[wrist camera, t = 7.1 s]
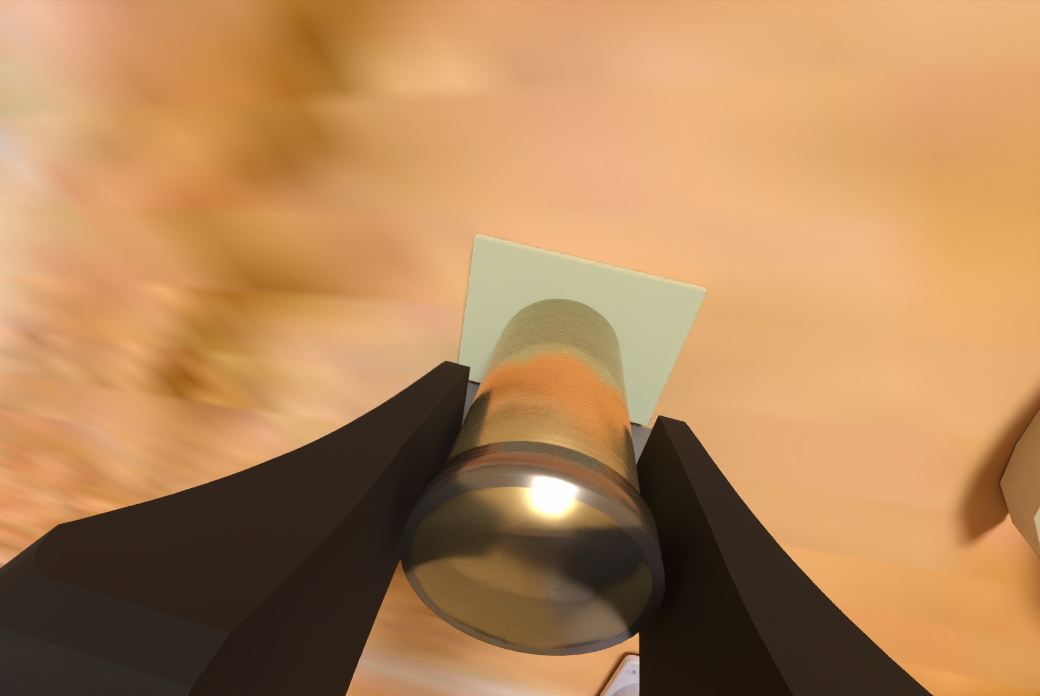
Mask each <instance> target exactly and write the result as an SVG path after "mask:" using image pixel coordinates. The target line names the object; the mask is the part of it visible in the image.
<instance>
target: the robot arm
mask: <svg viewBox="0 0 1040 696" xmlns="http://www.w3.org/2000/svg"><path fill="white" fill-rule="evenodd" d="M469 374H470V367H468V366H465V365H461V364H457V363H453V362H449V361H445V362H443V363H441V364H440V365H438V366H437V367H436V368H434V369H433V370H431V371H430V372H429V373H427V374H426V375H424V376H423V377H422V378H420V379H419V380H417V381H416V382H414V383H413V384H412V385H410V386H409V387H407V388H406V389H404V390H403V391H401V392H400V393H398V394H397V395H395V396H394V397H392V398H390V399H389V400H387V401H386V402H384V403H383V404H381V405H380V406H378V407H376V408H375V409H373V410H371V411H369V412H368V413H366V414H364V415H363V416H361V417H359V418H357V419H356V420H354V421H352V422H350V423H349V424H347V425H345V426H343V427H341V428H339V429H338V430H336V431H334V432H332V433H330V434H328V435H326V436H324V437H322V438H320V439H318V440H316V441H313V442H311V443H309V444H307V445H305V446H303V447H301V448H298V449H296V450H294V451H291V452H289V453H286V454H284V455H281V456H279V457H276V458H274V459H271V460H269V461H266V462H264V463H261V464H259V465H256V466H254V467H251V468H249V469H246V470H244V471H241V472H238V473H235V474H232V475H230V476H227V477H224V478H221V479H218V480H215V481H212V482H209V483H206V484H203V485H200V486H197V487H194V488H190V489H187V490H184V491H181V492H178V493H175V494H171V495H168V496H165V497H161V498H158V499H154V500H151V501H147V502H143V503H140V504H136V505H132V506H128V507H125V508H121V509H117V510H113V511H110V512H106V513H102V514H98V515H95V516H91V517H87V518H83V519H80V520H75V521H71V522H67V523H63V524H59V525H57V526H56V527H54V528H53V529H52V530H50V531H49V532H48V533H46V534H45V535H43V536H42V537H41V538H40V539H38V540H37V541H36V542H34V543H33V544H32V545H30V546H29V547H28V548H26V549H25V550H24V551H23V552H21V553H20V554H19V555H17V556H16V557H15V558H13V559H12V560H11V561H9V562H8V563H7V564H5V565H4V566H3V567H2V568H0V696H345V695H346V693H347V690H348V688H349V685H350V682H351V680H352V677H353V674H354V672H355V669H356V667H357V664H358V661H359V659H360V656H361V654H362V651H363V649H364V646H365V644H366V641H367V639H368V636H369V634H370V631H371V629H372V626H373V624H374V621H375V619H376V616H377V614H378V611H379V609H380V606H381V604H382V601H383V599H384V596H385V594H386V592H387V589H388V587H389V584H390V582H391V579H392V577H393V574H394V572H395V570H396V567H397V565H398V563H399V561H400V559H401V557H400V542H401V537H402V533H403V530H404V527H405V525H406V523H407V520H408V518H409V516H410V514H411V512H412V510H413V508H414V506H415V503H416V501H417V499H418V497H419V495H420V493H421V491H422V489H423V487H424V485H425V483H426V482H427V480H428V479H429V477H430V476H431V475H432V474H433V473H434V472H435V471H436V469H437V468H438V467H440V466H441V465H442V464H444V463H445V462H446V461H447V459H448V457H449V455H450V452H451V450H452V448H453V446H454V443H455V441H456V439H457V436H458V434H459V432H460V429H461V427H462V421H463V415H464V408H465V401H466V394H467V388H468V381H469ZM636 468H637V475H638V482H639V489H640V494H641V496H642V497H643V498H644V500H645V501H646V503H647V505H648V506H649V508H650V510H651V512H652V515H653V517H654V520H655V522H656V527H657V532H658V538H659V544H660V550H661V556H662V562H663V567H664V573H665V592H664V596H663V601H662V603H661V605H660V607H659V610H658V612H657V613H656V614H655V616H654V617H653V619H652V620H651V621H650V622H649V623H648V624H647V625H646V626H645V627H644V628H643V629H642V630H641V631H640V632H639V656H637V655H627V656H626V657H625V658H624V659H623V661H622V662H621V664H620V665H619V667H618V668H617V670H616V672H615V673H614V675H613V676H612V678H611V679H610V681H609V682H608V684H607V685H606V687H605V688H604V690H603V691H602V693H601V694H600V696H933V695H932V694H931V693H929V692H928V691H927V690H926V689H925V688H924V687H922V686H921V685H920V684H919V683H918V682H917V681H916V680H915V679H913V678H912V677H911V676H910V675H909V674H908V673H907V672H906V671H905V670H903V669H902V668H901V667H900V666H899V665H898V664H897V663H896V662H894V661H893V660H892V659H891V658H890V657H889V656H888V655H887V654H886V653H885V652H884V651H882V650H881V649H880V648H879V647H878V646H877V645H876V644H875V643H874V642H873V641H872V640H871V639H870V638H869V637H868V636H867V635H866V634H865V633H864V632H863V631H861V630H860V629H859V628H858V627H857V626H856V625H855V624H854V623H853V622H852V621H851V620H850V619H849V618H848V617H847V616H846V615H845V614H844V613H843V612H842V611H841V610H840V609H839V608H838V607H837V606H836V605H835V604H834V603H833V602H832V601H831V600H830V599H829V598H828V597H827V596H826V595H825V594H824V593H823V592H822V591H821V590H820V589H819V588H818V587H817V586H816V585H815V584H814V583H813V582H812V580H811V579H810V578H809V577H808V576H807V575H806V574H805V573H804V572H803V571H802V570H801V569H800V568H799V567H798V566H797V564H796V563H795V562H794V561H793V560H792V559H791V558H790V557H789V556H788V555H787V553H786V552H785V551H784V550H783V549H782V548H781V547H780V545H779V544H778V543H777V542H776V541H775V540H774V538H773V537H772V536H771V535H770V534H769V532H768V531H767V530H766V529H765V528H764V526H763V525H762V524H761V523H760V521H759V520H758V519H757V518H756V517H755V515H754V514H753V513H752V512H751V510H750V509H749V508H748V507H747V505H746V504H745V503H744V502H743V500H742V499H741V498H740V496H739V495H738V494H737V492H736V491H735V490H734V488H733V487H732V486H731V484H730V483H729V482H728V480H727V479H726V478H725V476H724V475H723V474H722V472H721V471H720V469H719V468H718V467H717V465H716V464H715V463H714V461H713V460H712V458H711V457H710V456H709V454H708V453H707V451H706V450H705V449H704V447H703V446H702V444H701V443H700V441H699V440H698V439H697V437H696V436H695V435H694V433H693V432H692V430H691V429H690V428H689V426H688V425H687V424H686V423H685V422H683V421H679V420H675V419H671V418H668V417H664V416H660V415H659V416H658V418H657V420H656V422H655V424H654V427H653V429H652V431H651V433H650V435H649V438H648V440H647V442H646V444H645V446H644V449H643V451H642V453H641V455H640V457H639V459H638V462H637V464H636Z"/></svg>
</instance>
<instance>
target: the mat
mask: <svg viewBox="0 0 1040 696" xmlns="http://www.w3.org/2000/svg"><path fill="white" fill-rule="evenodd" d="M705 295H706V290H705V288H704V287H701V286H697V285H693V284H688V283H684V282H680V281H676V280H671V279H667V278H663V277H659V276H655V275H650V274H646V273H642V272H638V271H633V270H629V269H625V268H621V267H617V266H612V265H608V264H604V263H600V262H596V261H591V260H587V259H583V258H579V257H574V256H570V255H566V254H562V253H558V252H553V251H549V250H545V249H541V248H536V247H532V246H528V245H524V244H520V243H515V242H511V241H507V240H503V239H499V238H494V237H490V236H486V235H482V234H477V235H476V236H475V238H474V245H473V253H472V261H471V269H470V276H469V284H468V292H467V299H466V307H465V315H464V323H463V330H462V338H461V346H460V353H459V361H458V364H461V365H465V366H468V367H470V374H469V380H471V381H475V382H479V383H481V381H482V379H483V377H484V374H485V372H486V370H487V368H488V365H489V363H490V361H491V358H492V356H493V354H494V351H495V349H496V347H497V345H498V342H499V340H500V338H501V335H502V333H503V331H504V329H505V327H506V325H507V324H508V322H509V321H510V320H511V319H512V317H513V316H514V315H516V314H517V313H518V312H519V311H520V310H522V309H523V308H525V307H527V306H529V305H531V304H533V303H536V302H539V301H543V300H547V299H567V300H573V301H577V302H580V303H583V304H585V305H587V306H589V307H591V308H593V309H594V310H596V311H597V312H598V313H600V314H601V315H602V316H603V317H604V318H605V319H606V320H607V321H608V322H609V324H610V325H611V326H612V328H613V330H614V332H615V333H616V336H617V339H618V342H619V347H620V353H621V360H622V367H623V375H624V382H625V389H626V396H627V403H628V410H629V418H630V422H634V423H638V424H642V425H646V426H647V425H648V422H649V420H650V418H651V416H652V413H653V411H654V409H655V407H656V404H657V402H658V400H659V398H660V395H661V393H662V391H663V389H664V387H665V384H666V382H667V380H668V378H669V375H670V373H671V371H672V369H673V366H674V364H675V362H676V360H677V357H678V355H679V353H680V351H681V348H682V346H683V344H684V342H685V339H686V337H687V335H688V333H689V331H690V328H691V326H692V324H693V322H694V319H695V317H696V315H697V313H698V310H699V308H700V306H701V304H702V301H703V299H704V297H705Z"/></svg>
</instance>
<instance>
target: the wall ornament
mask: <svg viewBox="0 0 1040 696" xmlns="http://www.w3.org/2000/svg"><path fill="white" fill-rule="evenodd" d="M1000 486H1001V489H1002V492H1003V495H1004V498H1005V501H1006V504H1007V507H1008V510H1009V514H1010V517H1011V520H1012V523H1013V524H1014V525H1015V527H1016V528H1017V529H1018V531H1019V532H1020V533H1021V534H1022V536H1023V537H1024V538H1025V540H1026V541H1027V542H1028V544H1029V545H1030V546H1031V548H1032V549H1033V550H1034V551H1035V553H1036V554H1037V555H1038V557H1039V558H1040V409H1039V410H1038V412H1037V414H1036V415H1035V417H1034V418H1033V420H1032V421H1031V423H1030V424H1029V426H1028V427H1027V429H1026V430H1025V432H1024V433H1023V435H1022V436H1021V438H1020V439H1019V441H1018V442H1017V444H1016V446H1015V448H1014V451H1013V453H1012V456H1011V458H1010V460H1009V463H1008V465H1007V468H1006V470H1005V472H1004V475H1003V477H1002V479H1001V482H1000Z"/></svg>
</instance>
